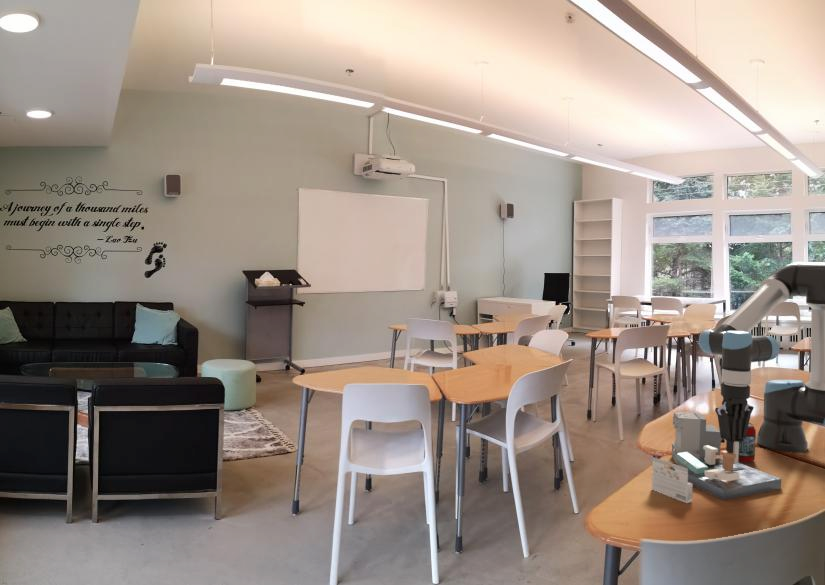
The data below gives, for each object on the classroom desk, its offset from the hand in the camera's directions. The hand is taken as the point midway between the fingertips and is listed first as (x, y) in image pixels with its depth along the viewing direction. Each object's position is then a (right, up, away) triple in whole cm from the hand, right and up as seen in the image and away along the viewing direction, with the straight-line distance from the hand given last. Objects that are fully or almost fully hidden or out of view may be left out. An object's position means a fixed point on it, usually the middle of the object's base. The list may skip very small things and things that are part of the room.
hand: (732, 462), depth 173 cm
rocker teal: (-12, 0, 0) cm, 12 cm away
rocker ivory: (-8, -1, -10) cm, 13 cm away
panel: (-3, -6, -1) cm, 7 cm away
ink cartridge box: (-23, -6, -11) cm, 26 cm away
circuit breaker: (-2, -5, +16) cm, 17 cm away
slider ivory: (-4, -2, +4) cm, 6 cm away
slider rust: (-2, -2, 0) cm, 3 cm away
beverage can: (+13, -5, +18) cm, 22 cm away
